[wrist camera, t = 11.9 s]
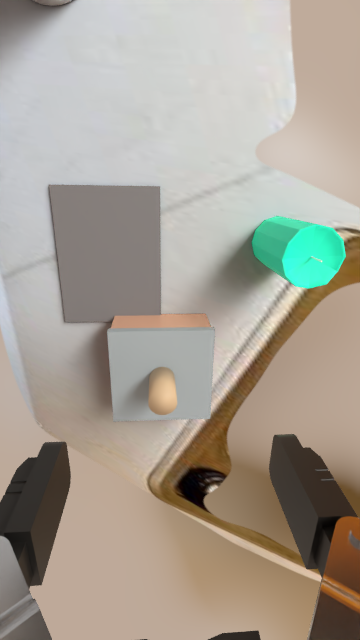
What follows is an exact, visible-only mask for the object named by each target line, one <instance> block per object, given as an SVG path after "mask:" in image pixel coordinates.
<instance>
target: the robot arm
mask: <svg viewBox="0 0 360 640" xmlns="http://www.w3.org/2000/svg"><path fill="white" fill-rule="evenodd" d="M32 1H34V2H36V3H39V4H43V5H48V6H55V5H62V4H65V3H68V2H71V1H72V0H32ZM269 470H270V477H271V481H272V484H273V487H274V488H275V491H276V494H277V496H278V499H279V502H280V504H281V506H282V509H283V511H284V514H285V516H286V519H287V521H288V524H289V527H290V529H291V531H292V534H293V537H294V539H295V542H296V544H297V547H298V549H299V552H300V554H301V557H302V559H303V562H304V564H305V567H306V569H318V570H319V572H320V574H321V577H322V580H321V584H320V588H319V592H318V597H317V601H316V605H315V609H314V613H313V617H312V621H311V625H310V630H309V634H308V638H307V640H360V518H358V516H357V515H356V513H355V511H354V510H353V508H352V507H351V505H350V503H349V502H348V500H347V499H346V497H345V495H344V494H343V492H342V490H341V489H340V487H339V486H338V484H337V483H336V481H334V478H333V476H332V475H331V473H330V471H328V468H327V466H326V465H325V463H324V462H323V460H322V458H321V457H320V456H318V454H316V453H315V452H314V451H313V450H312V449H311V448H303V447H302V446H301V444H300V442H299V440H298V439H297V437H296V436H295V435H294V434H286V435H274V437H273V443H272V450H271V458H270V464H269ZM70 477H71V476H70V466H69V458H68V451H67V445H66V442H45V443H44V444H43V446H42V448H41V450H40V452H39V455H38V457H35V458H28V459H27V460H25V462H23V464H22V465H21V466H19V468H17V470H16V472H15V474H14V476H13V478H12V480H11V483H10V484H9V486H8V488H7V490H6V493H5V495H4V496H3V498H2V500H1V502H0V640H52V638H51V636H50V633H49V631H48V628H47V626H46V624H45V621H44V619H43V616H42V614H41V611H40V609H39V607H38V604H37V602H36V600H35V599H33V598H32V596H31V593H30V591H29V588H30V586H35V585H42V582H43V578H44V575H45V571H46V568H47V565H48V561H49V558H50V554H51V551H52V547H53V544H54V540H55V537H56V533H57V530H58V526H59V523H60V520H61V516H62V513H63V509H64V506H65V502H66V499H67V495H68V492H69V488H70ZM142 640H143V639H142ZM144 640H147V639H144ZM208 640H260V635H259V631H247V632H233V633H222V634H220V635H218V636H215V637H213V638H211V639H208Z"/></svg>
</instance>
